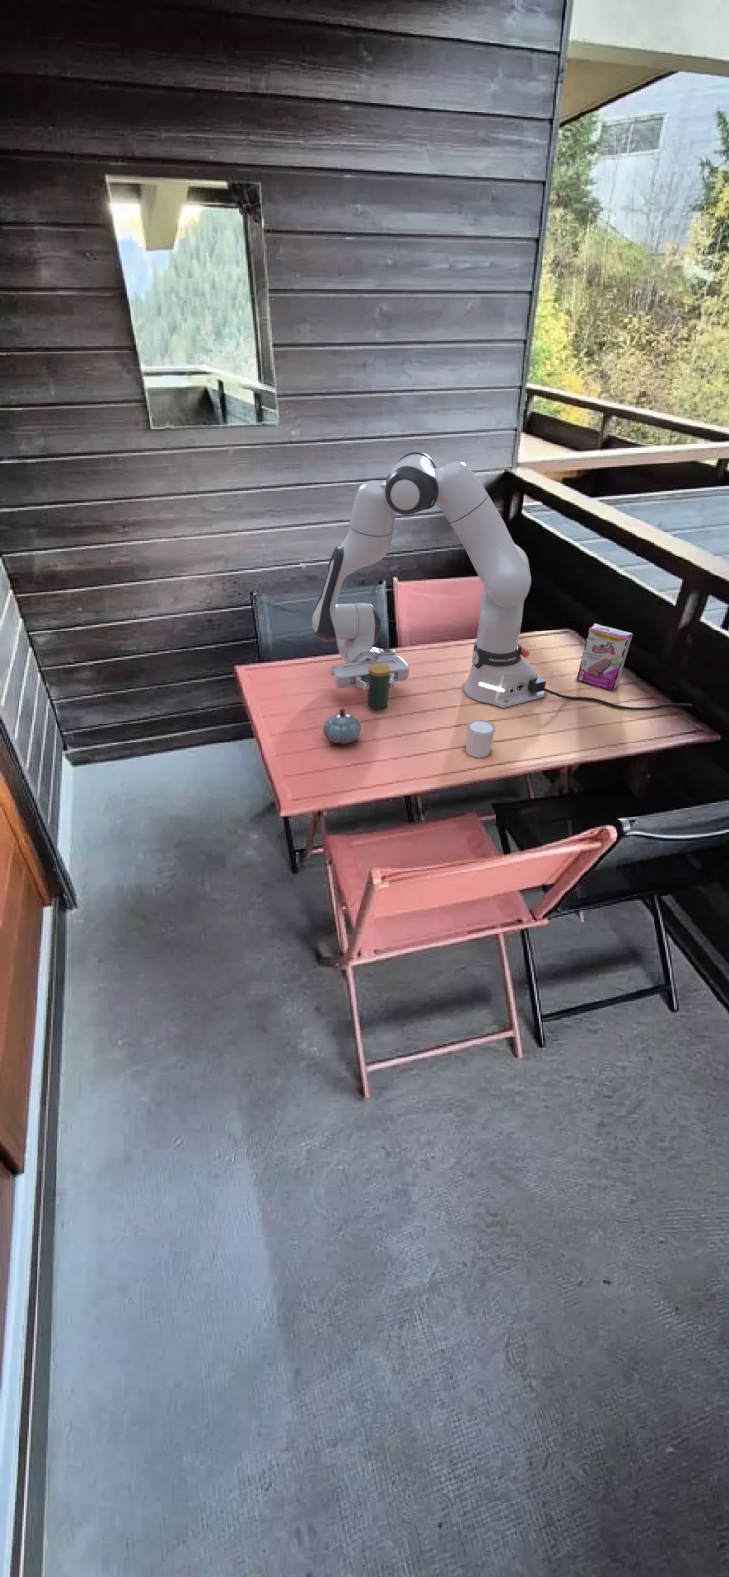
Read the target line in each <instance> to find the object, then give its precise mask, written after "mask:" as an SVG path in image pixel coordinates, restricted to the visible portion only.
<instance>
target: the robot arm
mask: <svg viewBox="0 0 729 1577" xmlns="http://www.w3.org/2000/svg"><path fill="white" fill-rule="evenodd" d="M386 477H387V478H386V480H367V481H365V482H363V483H362V484H361V485H360V486H359V487H358V489H357V492H356V494H355V498H354V501H353V504H352V509H351V514H350V520H349V528H348V531H347V534H346V536H345V537H344V540H343V541H342V542H341V544H339V545H338V546H335V547H334V549H333V551H332V554H331V556H330V559H329V562H328V565H327V568H326V571H325V576H324V579H323V583H322V587H321V590H320V594H319V597H318V601H317V603H316V605H315V608H314V610H313V613H312V618H311V628H312V632H313V634H314V635H315V636H316V637H318V639H319V640H321V641H323V643H326V642H327V643H328V642H335V641H336V647H337V650H338V653H339V655H340V657H341V659H342V661H343V662H344V663H337V664H335V665H333V666H332V667H330V668H329V669H328V671H329V673H330V675H331V676H333V680H334V683H335V686H336V687H337V688H340V689H343V688H353V687H357V688H358V689H362V690H363V691H364V692H368V690H370V684H369V683H368V675H369V672H368V667H369V666H370V665H371V664H374V663H383V664H386V665H388V666H389V667H390V674H389V689H391V688H392V689H393V688H395V685H396V684H395V682H401V681H406V680H407V679H409V677H410V676H409V675H410V667H409V665H408V664H407V662H406V661H405V660H404V659H403V658H402V657H401V656H399V655H397V654H396V650H394V649H393V648H382V647H381V648H379V647H375V646H374V645H375V644H376V643H377V641H378V639H379V637H380V633H381V617H380V615H379V612H378V611H377V609H376V608H375V607H374V605H372V603H370V602H368V603H367V602H356V603H354V602H352V603H337V602H338V599H339V596H340V593H341V589H342V585H343V583H344V581H345V580H346V578H347V577H348V576H349V575H351V574H352V573H354V572H357V571H359V570H361V569H363V568H366V567H369V566H372V565H375V564H376V563H378V562H379V561H381V560H382V559H383V558H384V557H385V556H386V555H387V554H388V553H389V550H390V548H391V544H392V539H393V534H394V533H393V532H394V527H395V520H396V517H397V514H399V515H403V516H404V515H405V516H407V515H414V514H417V513H420V512H422V511H425V510H426V511H427V510H429V509H432V508H434V507H435V506H437V507H438V508H439V509H440V511H441V512H442V514H443V515H444V517H445V519H446V521H447V522H448V524H449V525H450V527H451V528H452V530H453V532H454V533H455V535H456V536H457V539H458V540H459V542H460V543H461V545H462V546H463V548H464V550H465V552H466V554H467V555H468V558H469V560H470V562H471V564H472V566H473V568H474V570H475V572H476V574H477V576H478V578H479V579H480V582H481V584H482V591H481V592H482V593H481V601H480V613H479V619H478V626H477V627H478V628H477V633H476V640H475V641H474V645H473V650H472V656H471V658H472V659H471V662H472V663H471V667H470V671H469V674H468V676H467V680H466V682H465V684H464V686H463V691H464V693H465V694H466V696H467V697H469V698H471V699H472V700H475V701H477V702H480V703H484V704H490V705H493V706H495V707H499V708H502V709H504V708H509V707H512V706H516V705H519V704H524V703H527V702H531V701H535V700H539V699H541V698H544V697H545V692H546V693H547V694H551V695H553V696H556V697H559V698H562V699H567V700H576V701H577V700H581V701H593V702H596V703H600V704H604V705H607V706H608V707H609V706H610V707H612V708H616V709H622V710H628V711H629V710H630V711H649V710H650V711H652V710H656V709H660V708H663V707H662V706H666V707H687V708H692V705H693V704H692V703H691V704H690V703H662V704H658V705H655V706H654V705H653V706H639V707H636V706H635V707H634V706H626V705H620V704H619V705H618V704H615V703H612V702H609V701H605V700H602V699H599V698H596V697H588V696H569V695H565V694H560V693H558V692H555V691H553V690H550V689H548V688H546V684H547V681H546V680H545V679H544V678H542V677H541V676H539V677H538V672H537V671H536V669H535V668H534V667H533V666H532V664H530V663H529V662H528V661H526V659H525V658H528V657H529V656H530V653H531V652H530V651H529V650H528V649H527V648H525V647H524V648H523V646H521V645H520V644H519V640H520V635H521V629H522V623H523V615H524V603H525V600H526V598H527V597H528V595H529V592H530V590H531V586H532V576H531V569H530V562H529V558H528V556H527V553H526V552H525V550H523V549H522V547H520V546H519V545H517V544H516V543H515V542H514V540H513V538H512V535H511V533H510V532H509V529H508V528H507V525H506V523H505V521H504V519H503V517H502V515H501V514H500V512H499V511H498V509H497V507H496V506H495V503H494V502H493V500H492V498H491V497H490V495H489V493H488V492H487V490H486V488H485V487H484V485H483V483H481V481H480V480H479V478H478V477H477V476H476V474H475V473H474V472H473V470H471V469H470V468H469V466H468V465H467V464H466V463H465V462H462V461H452V462H449V463H447V464H445V465H444V466H442V467H439V468H437V466H436V464H435V462H434V460H433V459H432V458H431V457H430V456H429V455H428V454H426V453H424V452H421V451H413V452H408V453H407V454H405V455H403V456H402V457H401V458H400V459H399V460H398V461H397V463H396V464H394V466H393V467H392V469H391V470H390V471H389V473H388V474H387V476H386ZM693 709H695V710H696V711H698V713H700V714H703V713H702V712H703V711H702V712H701V711H700V710H698V709H696V708H693Z"/></svg>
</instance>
